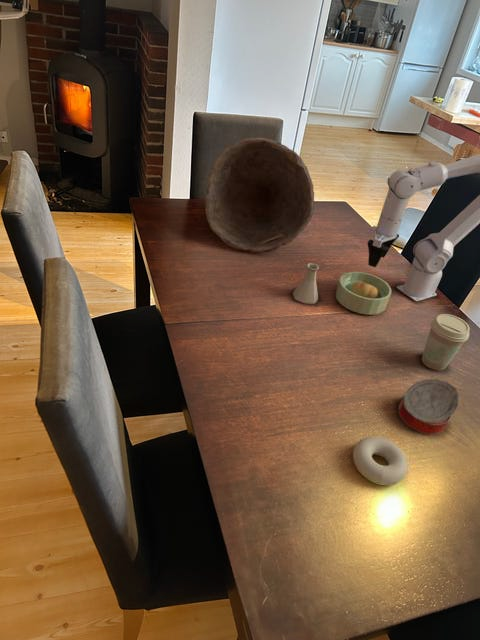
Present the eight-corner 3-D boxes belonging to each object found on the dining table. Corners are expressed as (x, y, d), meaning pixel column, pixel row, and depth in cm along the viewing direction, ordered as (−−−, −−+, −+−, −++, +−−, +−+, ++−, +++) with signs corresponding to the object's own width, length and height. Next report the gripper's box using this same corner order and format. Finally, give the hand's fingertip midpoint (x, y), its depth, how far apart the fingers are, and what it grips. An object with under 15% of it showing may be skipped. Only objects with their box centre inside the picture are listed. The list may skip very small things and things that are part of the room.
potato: (348, 291, 131) (354, 277, 131) (349, 294, 136) (356, 281, 136) (373, 301, 129) (380, 287, 129) (374, 304, 133) (380, 290, 133)
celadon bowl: (361, 284, 141) (366, 268, 138) (395, 309, 132) (402, 293, 128) (325, 293, 134) (329, 276, 131) (358, 321, 125) (364, 304, 122)
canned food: (435, 446, 99) (459, 436, 90) (389, 428, 100) (408, 417, 91) (444, 397, 104) (467, 383, 95) (400, 381, 105) (419, 365, 96)
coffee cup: (408, 354, 116) (426, 315, 109) (434, 348, 119) (453, 310, 112) (432, 377, 110) (452, 337, 103) (459, 371, 113) (480, 331, 106)
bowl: (280, 133, 166) (273, 111, 137) (331, 217, 168) (335, 213, 139) (201, 187, 174) (178, 178, 144) (251, 268, 176) (238, 274, 147)
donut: (393, 444, 92) (344, 443, 90) (399, 433, 90) (349, 431, 88) (412, 490, 84) (359, 489, 82) (419, 478, 82) (365, 477, 80)
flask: (317, 307, 128) (325, 275, 122) (291, 301, 128) (298, 269, 123) (318, 293, 134) (327, 262, 128) (293, 287, 134) (301, 257, 128)
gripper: (385, 204, 132) (371, 247, 140) (368, 219, 122) (354, 265, 130) (409, 212, 130) (394, 255, 138) (394, 228, 119) (378, 274, 127)
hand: (376, 260), depth 134 cm, fingers open, 7 cm apart
